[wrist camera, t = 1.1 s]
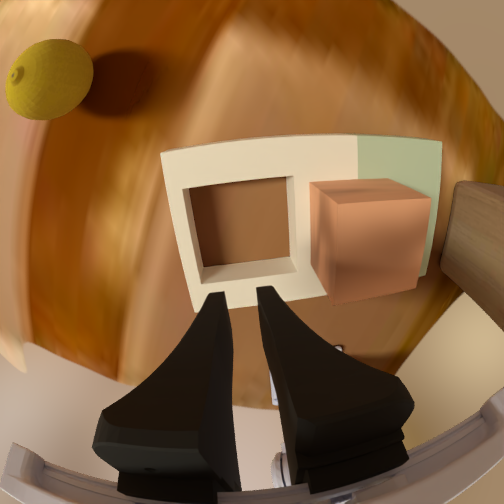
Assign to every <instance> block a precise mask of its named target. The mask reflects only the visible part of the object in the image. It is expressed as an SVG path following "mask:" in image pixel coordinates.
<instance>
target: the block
mask: <svg viewBox="0 0 504 504" xmlns="http://www.w3.org/2000/svg"><path fill="white" fill-rule="evenodd" d="M309 192H310V243H311V260H310V264H311V266H312V268H313V270H314V272H315V273H316V275H317V277H318V279H319V281H320V282H321V284H322V286H323V288H324V290H325V292H326V294H327V295H328V297H329V299H330V301H331V303H332V305H333V306H335V305H340V304H345V303H350V302H356V301H361V300H365V299H370V298H375V297H380V296H384V295H389V294H393V293H397V292H402V291H406V290H410V289H414V288H416V285H417V281H418V277H419V272H420V268H421V263H422V258H423V253H424V248H425V242H426V236H427V230H428V223H429V216H430V207H431V198H430V197H428V196H426V195H424V194H422V193H420V192H418V191H416V190H413V189H411V188H409V187H407V186H405V185H402V184H400V183H398V182H396V181H393V180H391V179H389V178H379V179H352V180H333V181H317V182H309Z"/></svg>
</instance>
